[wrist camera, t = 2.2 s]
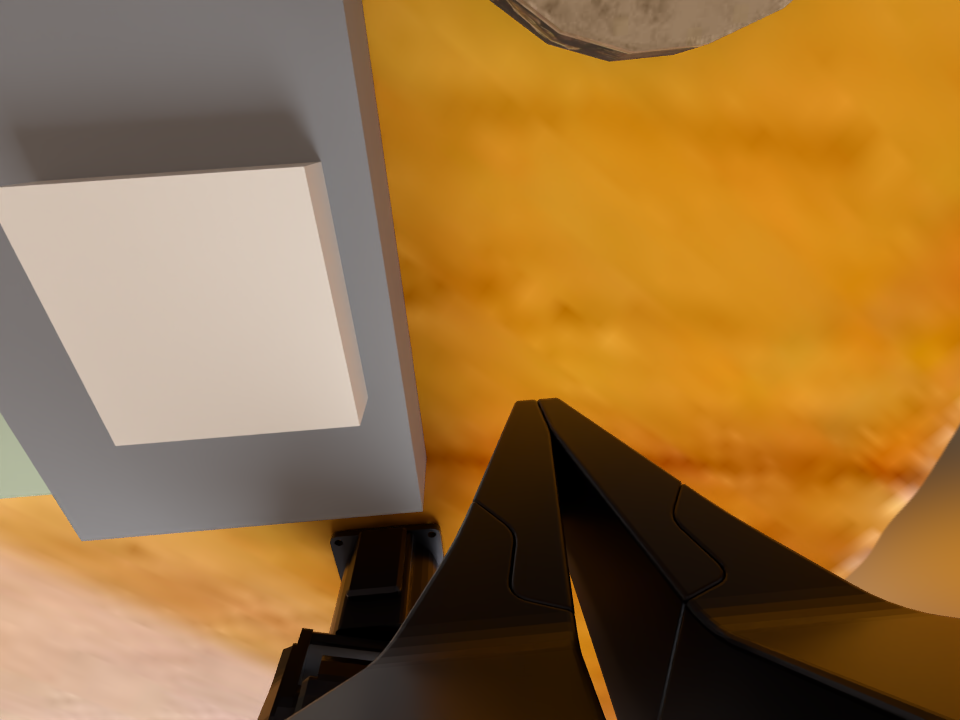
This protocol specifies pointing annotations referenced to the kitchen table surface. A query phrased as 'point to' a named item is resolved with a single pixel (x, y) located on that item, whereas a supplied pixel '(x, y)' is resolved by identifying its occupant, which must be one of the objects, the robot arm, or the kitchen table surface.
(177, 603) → the kitchen table surface
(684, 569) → the robot arm
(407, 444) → the gray rectangular block
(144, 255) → the ceramic tile
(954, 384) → the kitchen table surface
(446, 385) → the kitchen table surface
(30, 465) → the rubber mat
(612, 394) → the kitchen table surface
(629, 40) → the grey brown round disc
